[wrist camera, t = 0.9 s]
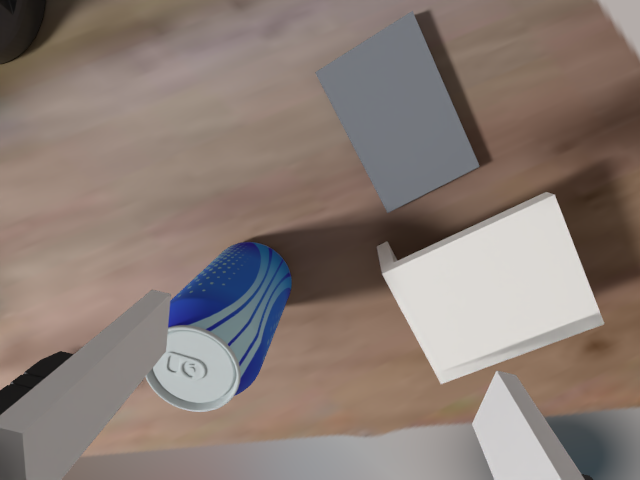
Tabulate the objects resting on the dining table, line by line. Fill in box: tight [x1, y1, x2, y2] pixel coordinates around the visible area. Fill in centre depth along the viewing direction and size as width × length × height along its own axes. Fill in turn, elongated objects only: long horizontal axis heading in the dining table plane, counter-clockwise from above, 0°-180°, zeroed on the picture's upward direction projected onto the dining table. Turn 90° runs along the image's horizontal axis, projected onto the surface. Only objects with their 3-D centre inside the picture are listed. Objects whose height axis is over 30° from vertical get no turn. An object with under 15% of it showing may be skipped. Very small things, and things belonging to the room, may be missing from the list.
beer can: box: [146, 242, 292, 412], centre depth 31 cm, size 8×8×16 cm
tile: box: [315, 11, 480, 213], centre depth 32 cm, size 14×9×2 cm, turn 29°
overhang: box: [377, 192, 604, 384], centre depth 32 cm, size 12×14×7 cm
